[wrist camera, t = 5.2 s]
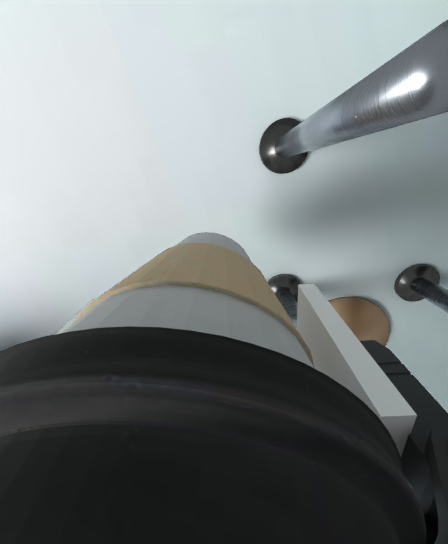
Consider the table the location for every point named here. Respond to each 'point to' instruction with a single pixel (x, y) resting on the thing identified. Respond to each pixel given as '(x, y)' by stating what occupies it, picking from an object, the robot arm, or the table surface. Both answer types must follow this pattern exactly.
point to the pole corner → (286, 293)
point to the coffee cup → (192, 422)
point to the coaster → (363, 318)
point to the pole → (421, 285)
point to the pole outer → (368, 104)
